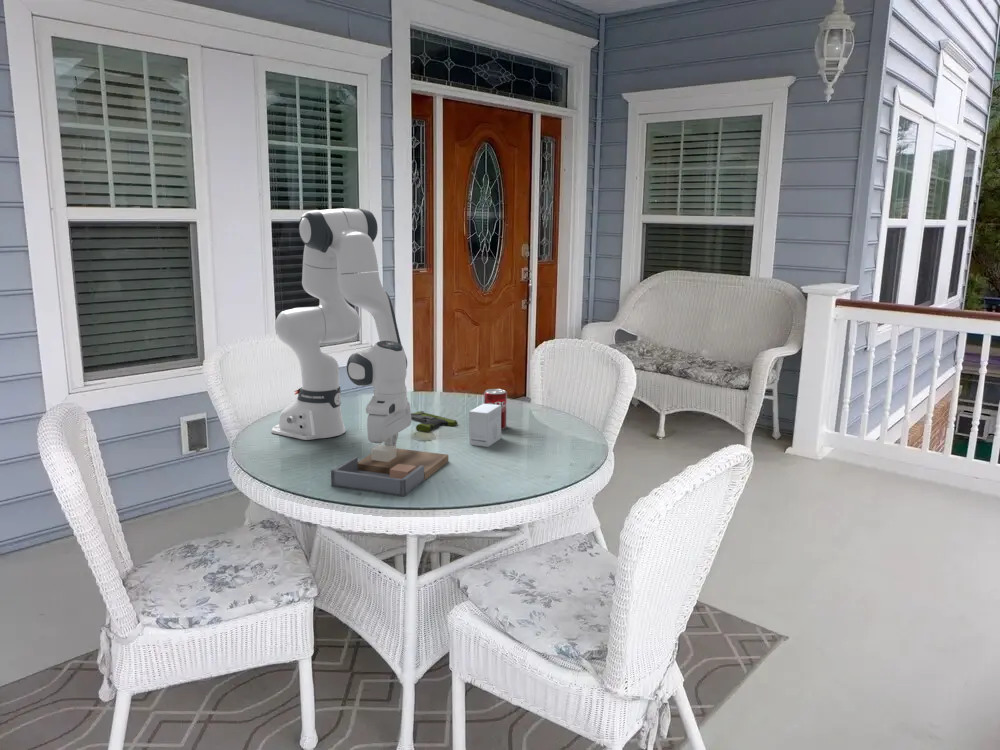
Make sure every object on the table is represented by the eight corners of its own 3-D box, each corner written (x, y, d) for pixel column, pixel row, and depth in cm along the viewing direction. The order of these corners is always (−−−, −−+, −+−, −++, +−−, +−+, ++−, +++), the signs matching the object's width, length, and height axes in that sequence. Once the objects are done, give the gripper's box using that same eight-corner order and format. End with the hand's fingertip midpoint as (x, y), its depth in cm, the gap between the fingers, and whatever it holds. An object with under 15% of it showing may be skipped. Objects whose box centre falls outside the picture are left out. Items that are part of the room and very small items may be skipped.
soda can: (509, 429, 247) (510, 393, 244) (488, 431, 244) (488, 394, 242) (501, 423, 253) (501, 388, 251) (480, 425, 251) (480, 389, 248)
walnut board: (355, 470, 206) (355, 463, 206) (383, 453, 221) (383, 446, 220) (424, 480, 200) (424, 472, 199) (448, 461, 215) (448, 454, 214)
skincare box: (482, 435, 240) (482, 402, 238) (501, 438, 238) (502, 405, 236) (468, 444, 231) (468, 410, 229) (488, 447, 228) (488, 412, 226)
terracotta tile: (389, 480, 197) (389, 469, 197) (398, 474, 202) (398, 463, 201) (407, 483, 196) (407, 472, 195) (416, 477, 200) (415, 466, 200)
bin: (331, 486, 194) (330, 470, 194) (354, 471, 206) (354, 456, 205) (403, 496, 188) (403, 480, 187) (424, 480, 199) (424, 465, 199)
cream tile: (371, 460, 209) (371, 449, 208) (379, 454, 213) (379, 444, 213) (388, 462, 207) (388, 451, 206) (396, 456, 212) (396, 446, 211)
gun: (386, 423, 254) (420, 416, 265) (426, 434, 241) (460, 426, 252) (386, 416, 253) (420, 409, 264) (426, 426, 241) (460, 418, 252)
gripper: (396, 392, 221) (396, 438, 224) (362, 408, 202) (363, 459, 205) (416, 394, 219) (416, 441, 222) (384, 411, 200) (385, 462, 203)
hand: (391, 450), depth 214 cm, fingers closed
